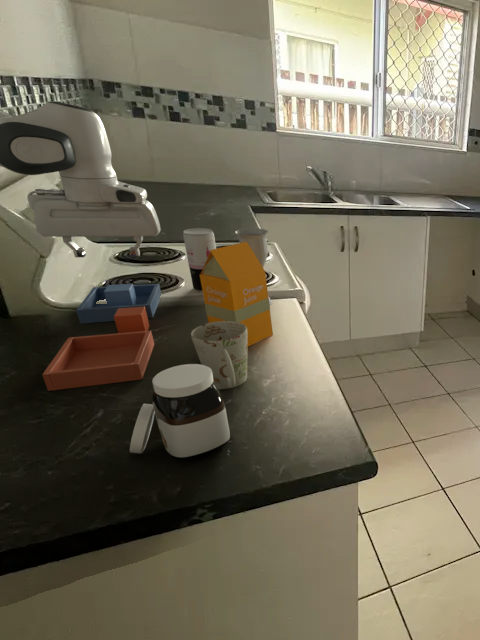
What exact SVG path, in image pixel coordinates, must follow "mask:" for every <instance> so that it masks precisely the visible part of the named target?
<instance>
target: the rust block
mask: <svg viewBox="0 0 480 640" xmlns="http://www.w3.org/2000/svg"><path fill="white" fill-rule="evenodd" d="M114 319H115V321H114V323H115V326H116V330H117V333H127V332H139V331H149V328H150V322H149V318H148V317H147V313H146V309H145V307H132V308H118V310H117V312H116V314H115V315H114Z"/></svg>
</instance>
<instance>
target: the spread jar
mask: <svg viewBox="0 0 480 640" xmlns="http://www.w3.org/2000/svg"><path fill="white" fill-rule="evenodd" d="M151 383H152V387H153V391H154V392H153V394H152V403H142V405H141V407H140V409H139V412H138V415H137V418H136V421H135V425H134V427H133V431H132V435H131V439H130V445H129V453H130V454H143V453H144V451H145V449H146V447H147V444H148V441H149V438H150V436H151V435H150V434H151V432H152V427H153V424H154V420H155V418H156V422H157V426H158V430H159V433H160V437H161V440H162V443H163V446H164V448H165V451H166V453H167V454H168V455H169V456H170V457H171V458H172V459H175V460H179V461H195V460H199V459H202V458H205V457H208V456H210V455H212V454H215V453H216V452H218V451H219V450H221V449H222V448H223V447H225V446H226V445H227V444H228V442H229V441H230V438H231V433H230V425H229V421H228V414H227V409H226V405H225V401H224V399H223V396H222V393H221V391H220V389H218V387H217V386H216V384H215V383H214V382H213V374H212V370H211V369H210V368H209V367H207V366H205V365H201V364H199V363H187V364H179V365H175V366H172V367H169V368H166V369H163V370H161V371H160V372H158V373H157V374H156V375H154V377H153V378H152V381H151Z"/></svg>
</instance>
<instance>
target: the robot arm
mask: <svg viewBox="0 0 480 640" xmlns="http://www.w3.org/2000/svg"><path fill="white" fill-rule="evenodd" d="M112 155H113V153H112V150H111V145H110V142H109V138H108V134H107V130H106V128H105V126H104V123H103V121H102V119H101V118H100V116H99V115H98V114H97V113H96V112H94V111H93V110H92V109H90V108H87V107H84V106H79V105H75V104H71V103H66V102H62V101H55V100H50V101H46V102H45V103H44V104H42V105H41V106H39V107H37V108H35V109H33V110H31V111H28V112H25V113H22V114H18V115H13V114H10V113H9V112H6V111H3V110H1V109H0V167H1V168H4V169H5V170H9V171H10V172H13V173H16V174H19V175H24V176H40V175H44V174H51V173H56V172H58V174H59V177H60V181H61V185H62V188H63V189H58V188H57V189H45V188H35V189H34V190H32V191H30V192H29V193H28V194H27V197H26V198H27V202H28V206H29V207H30V208H31V209H32V210H33V218H34V219H33V220H34V224H35V229H36V232H37V233H38V234H39V235H40V236H42V237H45V238H60V237H61V238H62V242H63V243H64V244H65V245H66V246H67V247H69V249H71V250H72V253H73V255H74V258H86V256H87V254H86V252H85V247H79V245H77V243H75V242H74V240H75V239H76V238H77V237H79V238H81V237H82V238H83V237H84V238H85V237H86V238H87V237H88V238H89V237H90V238H91V237H96V238H99V237H100V238H101V237H102V238H103V237H105V238H106V237H108V238H109V237H113V238H114V237H115V238H116V237H132V238H133V239H132V240H133V242H136V243H135V245H134V246H130V247H129V254H130V257H140V256H141V252H140V251H141V250H140V246H141V244H142V242H143V240H144V237H157V236H158V235H159V234H160V233H161V231H162V229H161V224H160V223H161V222H160V220H159V216H158V214H157V211H156V209H155V207H154V206H153V204H152V203H151V202H150V201H149V200H147V198H148V192H147V190H146V189H145V188H143V187H140V186H137V185H132V184H129V183H126V182H123V181H119V180H118V175H117V173H116V171H115V170H114V167H113V165H112ZM75 237H76V238H75Z"/></svg>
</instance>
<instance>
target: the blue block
mask: <svg viewBox="0 0 480 640" xmlns="http://www.w3.org/2000/svg"><path fill="white" fill-rule="evenodd" d="M133 285H134V284H133V283H124V284H123V283H122V284H121V283H120V284H108V285H106V287H107V288H106V289H105V291H104V294H105V298H106V301H107V305H108V307H112V306H127V305H136V304H137V298H136V294H135V290H134V286H133Z"/></svg>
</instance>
